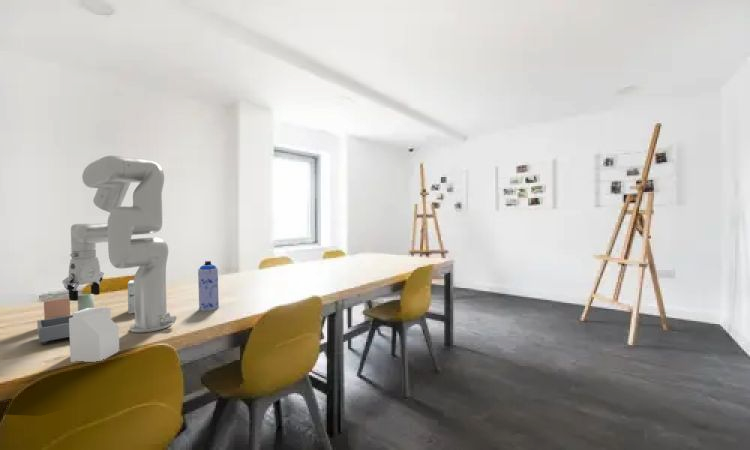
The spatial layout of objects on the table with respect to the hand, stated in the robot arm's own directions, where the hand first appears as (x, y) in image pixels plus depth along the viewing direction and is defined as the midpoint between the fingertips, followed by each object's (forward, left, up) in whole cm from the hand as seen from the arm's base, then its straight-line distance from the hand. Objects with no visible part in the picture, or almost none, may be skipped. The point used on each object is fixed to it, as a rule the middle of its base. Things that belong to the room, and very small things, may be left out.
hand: (84, 297), depth 142 cm
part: (-1, 0, -7) cm, 7 cm away
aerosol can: (-45, -11, -7) cm, 47 cm away
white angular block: (-38, +37, -7) cm, 54 cm away
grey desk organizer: (-10, +20, -7) cm, 24 cm away
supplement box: (-18, -6, -7) cm, 20 cm away
